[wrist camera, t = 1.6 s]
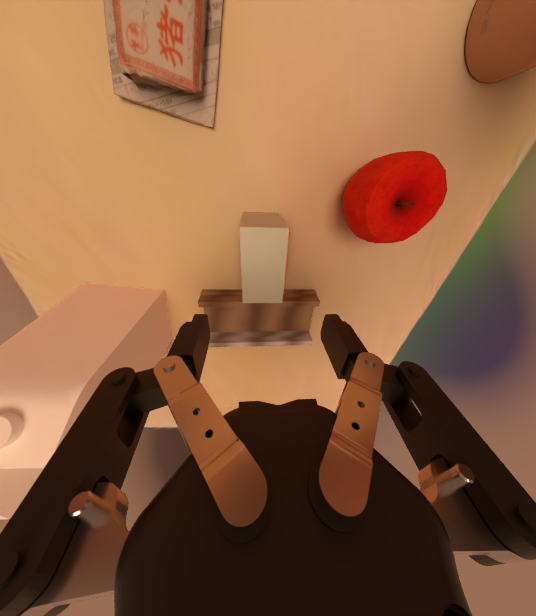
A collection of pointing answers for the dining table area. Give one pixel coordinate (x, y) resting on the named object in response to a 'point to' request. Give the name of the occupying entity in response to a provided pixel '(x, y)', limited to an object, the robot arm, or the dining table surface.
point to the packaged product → (166, 54)
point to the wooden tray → (258, 319)
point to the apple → (394, 196)
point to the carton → (263, 257)
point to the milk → (69, 372)
